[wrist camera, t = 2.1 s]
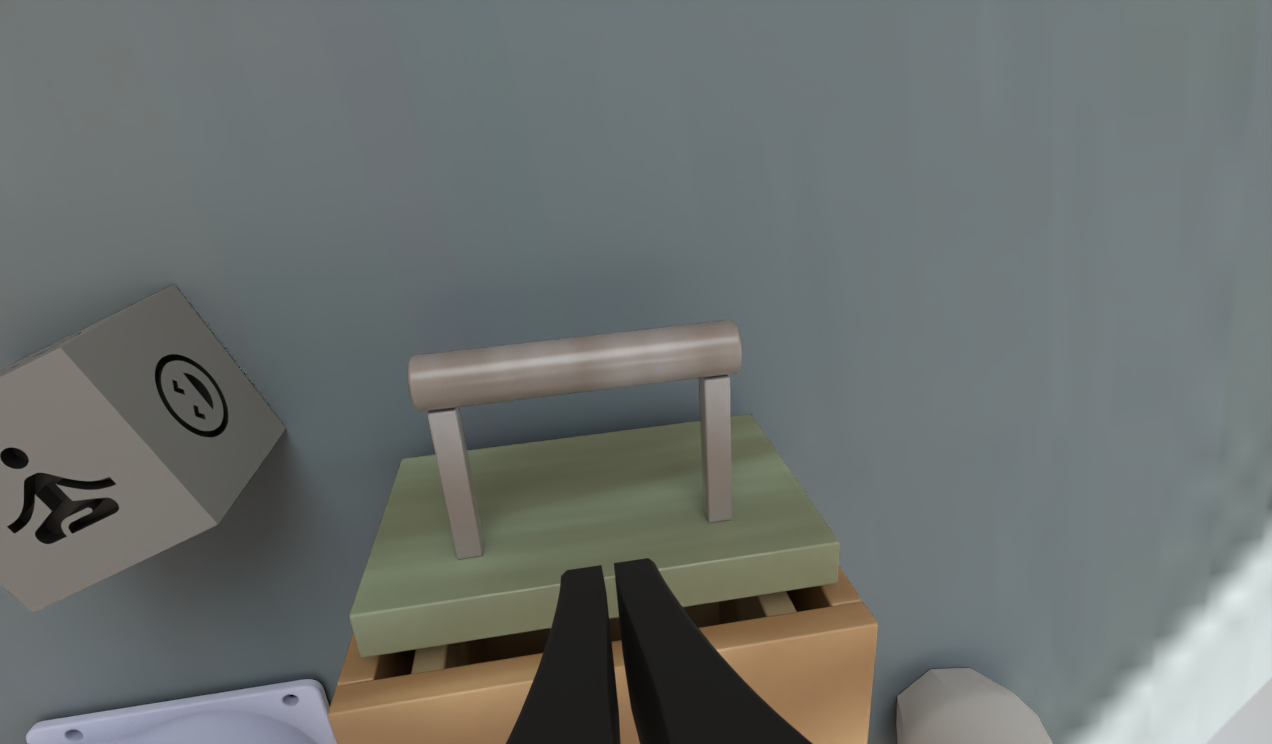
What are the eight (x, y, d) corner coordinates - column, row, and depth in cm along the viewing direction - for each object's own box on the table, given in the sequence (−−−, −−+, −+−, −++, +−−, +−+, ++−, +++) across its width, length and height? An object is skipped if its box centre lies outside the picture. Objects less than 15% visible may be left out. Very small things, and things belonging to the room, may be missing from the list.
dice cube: (140, 498, 21) (32, 613, 16) (14, 362, 19) (-149, 450, 14) (285, 428, 21) (218, 524, 16) (174, 284, 19) (60, 347, 14)
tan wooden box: (397, 492, 22) (326, 715, 14) (761, 444, 23) (879, 624, 16) (466, 782, 27) (441, 1061, 20) (759, 730, 29) (847, 971, 21)
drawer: (364, 298, 19) (284, 403, 13) (751, 258, 20) (853, 336, 14) (468, 750, 26) (449, 962, 19) (752, 700, 27) (820, 886, 21)
